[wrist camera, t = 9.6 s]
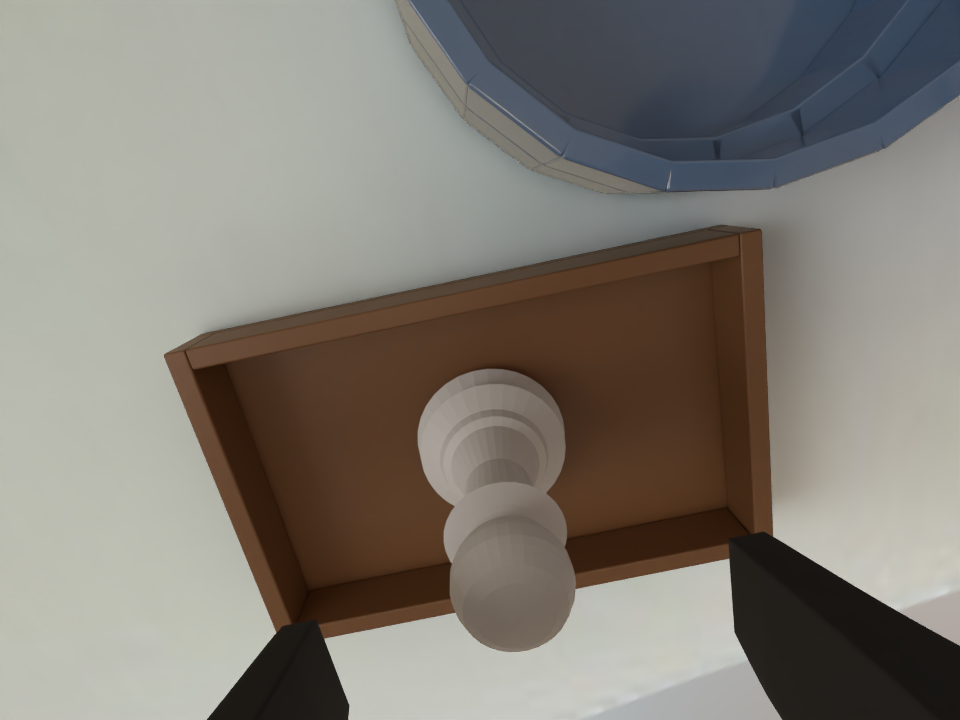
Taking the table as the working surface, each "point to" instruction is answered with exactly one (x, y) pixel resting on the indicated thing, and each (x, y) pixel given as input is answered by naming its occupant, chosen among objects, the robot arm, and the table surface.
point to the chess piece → (501, 505)
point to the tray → (476, 346)
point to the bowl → (689, 83)
